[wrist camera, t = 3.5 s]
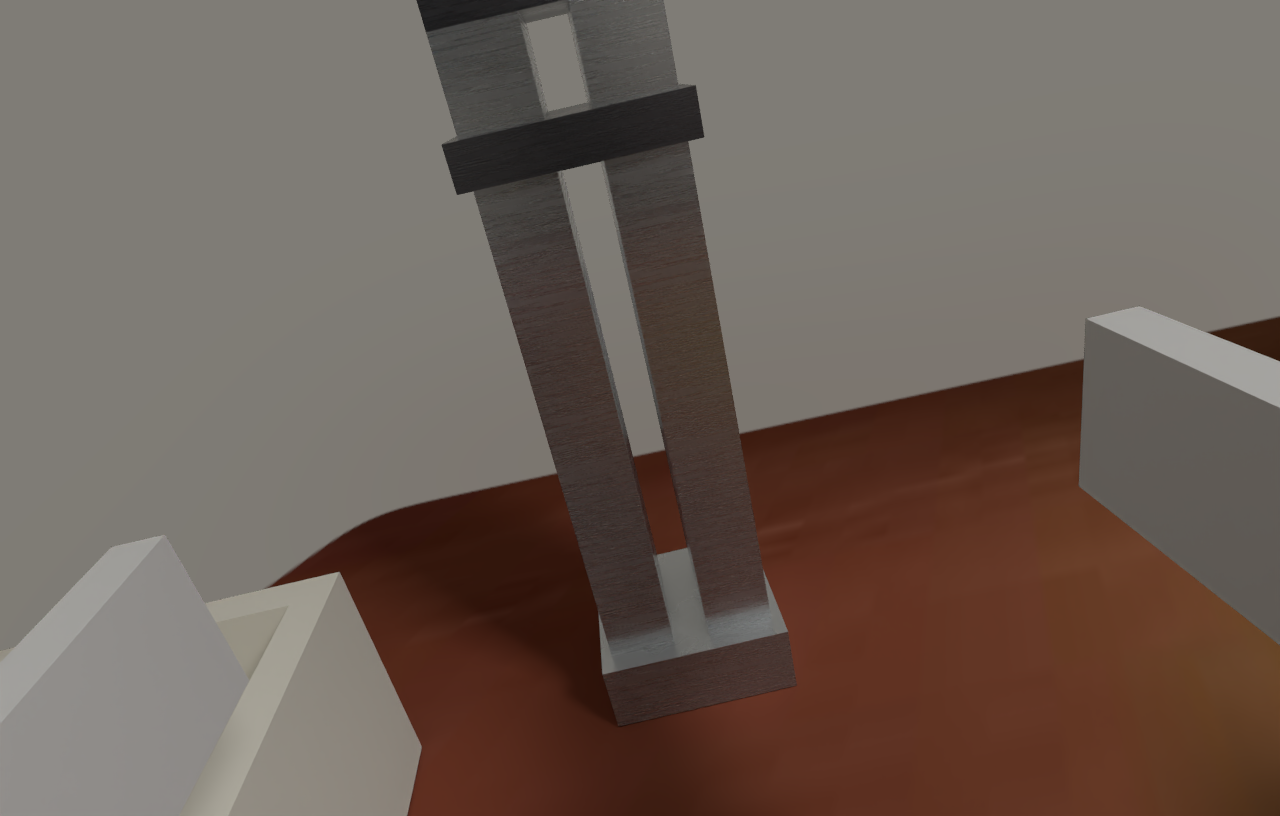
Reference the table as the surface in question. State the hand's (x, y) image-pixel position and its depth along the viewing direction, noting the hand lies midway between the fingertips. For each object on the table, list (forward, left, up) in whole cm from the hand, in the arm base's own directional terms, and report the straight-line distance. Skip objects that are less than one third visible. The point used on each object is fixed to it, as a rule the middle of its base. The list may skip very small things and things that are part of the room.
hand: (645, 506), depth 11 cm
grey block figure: (0, -9, -11) cm, 14 cm away
